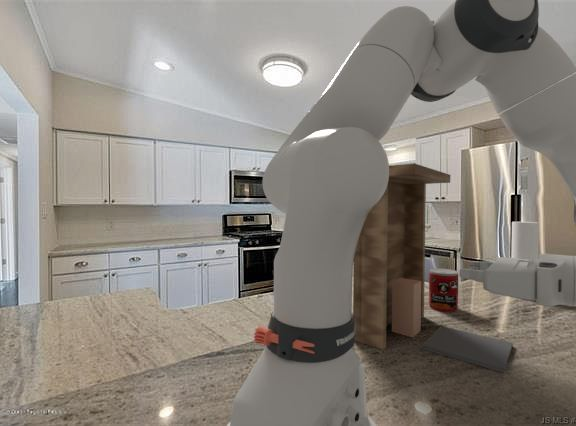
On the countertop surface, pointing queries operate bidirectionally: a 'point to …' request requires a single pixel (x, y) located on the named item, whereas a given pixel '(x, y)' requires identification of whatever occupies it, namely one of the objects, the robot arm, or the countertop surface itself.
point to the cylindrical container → (525, 240)
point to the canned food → (443, 289)
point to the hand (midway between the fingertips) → (465, 268)
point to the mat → (470, 348)
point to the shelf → (391, 249)
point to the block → (406, 306)
